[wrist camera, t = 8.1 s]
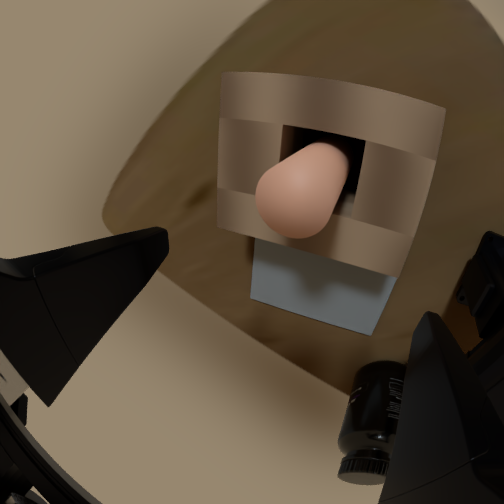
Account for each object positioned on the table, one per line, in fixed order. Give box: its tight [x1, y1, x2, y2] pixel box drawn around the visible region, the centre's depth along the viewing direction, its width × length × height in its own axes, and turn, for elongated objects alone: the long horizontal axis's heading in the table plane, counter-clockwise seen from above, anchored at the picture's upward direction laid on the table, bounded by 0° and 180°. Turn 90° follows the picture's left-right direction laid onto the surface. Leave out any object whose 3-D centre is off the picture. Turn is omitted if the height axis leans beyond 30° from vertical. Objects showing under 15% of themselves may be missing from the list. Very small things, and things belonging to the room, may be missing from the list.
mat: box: [250, 238, 397, 336], centre depth 23 cm, size 12×9×1 cm
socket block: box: [217, 72, 446, 278], centre depth 16 cm, size 12×10×5 cm
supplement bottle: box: [338, 361, 407, 485], centre depth 21 cm, size 7×7×12 cm
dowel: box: [255, 135, 354, 239], centre depth 14 cm, size 3×3×10 cm
